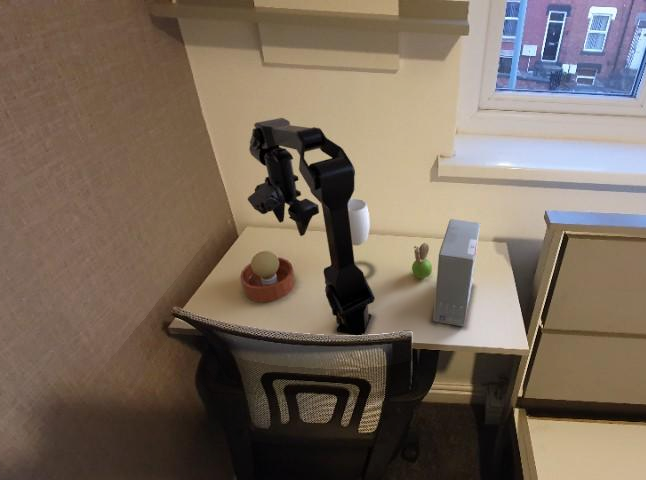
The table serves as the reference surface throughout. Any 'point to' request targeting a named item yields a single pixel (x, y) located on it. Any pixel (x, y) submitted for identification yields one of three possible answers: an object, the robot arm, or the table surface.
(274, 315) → the table surface
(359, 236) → the cup
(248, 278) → the bowl
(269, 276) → the light bulb
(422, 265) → the snail figurine
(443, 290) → the hard drive box
